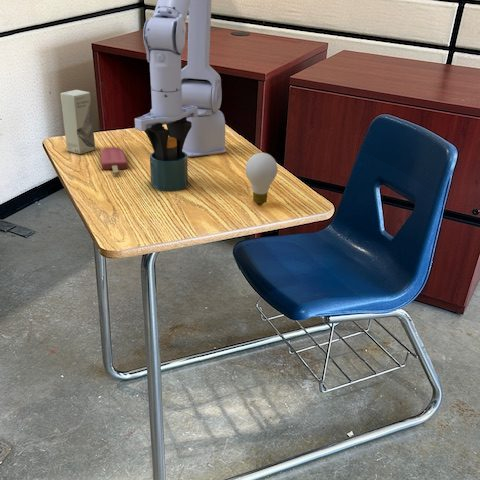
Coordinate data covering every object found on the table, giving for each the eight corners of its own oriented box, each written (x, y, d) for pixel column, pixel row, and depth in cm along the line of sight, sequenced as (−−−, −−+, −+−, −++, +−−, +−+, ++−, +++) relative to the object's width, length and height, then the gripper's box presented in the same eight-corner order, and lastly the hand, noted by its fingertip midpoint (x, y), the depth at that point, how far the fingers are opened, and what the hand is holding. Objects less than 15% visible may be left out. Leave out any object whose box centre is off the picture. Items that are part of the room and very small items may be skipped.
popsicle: (102, 170, 124) (99, 147, 137) (103, 177, 125) (99, 154, 137) (128, 168, 126) (122, 146, 138) (129, 175, 126) (123, 153, 139)
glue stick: (169, 165, 124) (168, 135, 120) (181, 169, 122) (180, 139, 118) (157, 169, 121) (155, 139, 118) (168, 173, 120) (167, 143, 116)
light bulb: (239, 207, 114) (241, 155, 109) (250, 196, 119) (252, 146, 113) (269, 213, 113) (272, 160, 107) (278, 201, 117) (282, 151, 112)
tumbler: (179, 175, 127) (179, 147, 124) (193, 187, 122) (193, 158, 119) (146, 180, 125) (144, 152, 121) (158, 193, 119) (157, 163, 116)
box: (80, 155, 136) (73, 96, 129) (66, 151, 138) (58, 93, 131) (96, 149, 140) (90, 91, 133) (82, 145, 142) (76, 88, 135)
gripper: (179, 79, 120) (181, 147, 127) (122, 90, 111) (127, 163, 118) (205, 85, 116) (205, 155, 123) (147, 98, 107) (151, 172, 114)
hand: (168, 159), depth 120 cm, fingers closed on glue stick, 3 cm apart
